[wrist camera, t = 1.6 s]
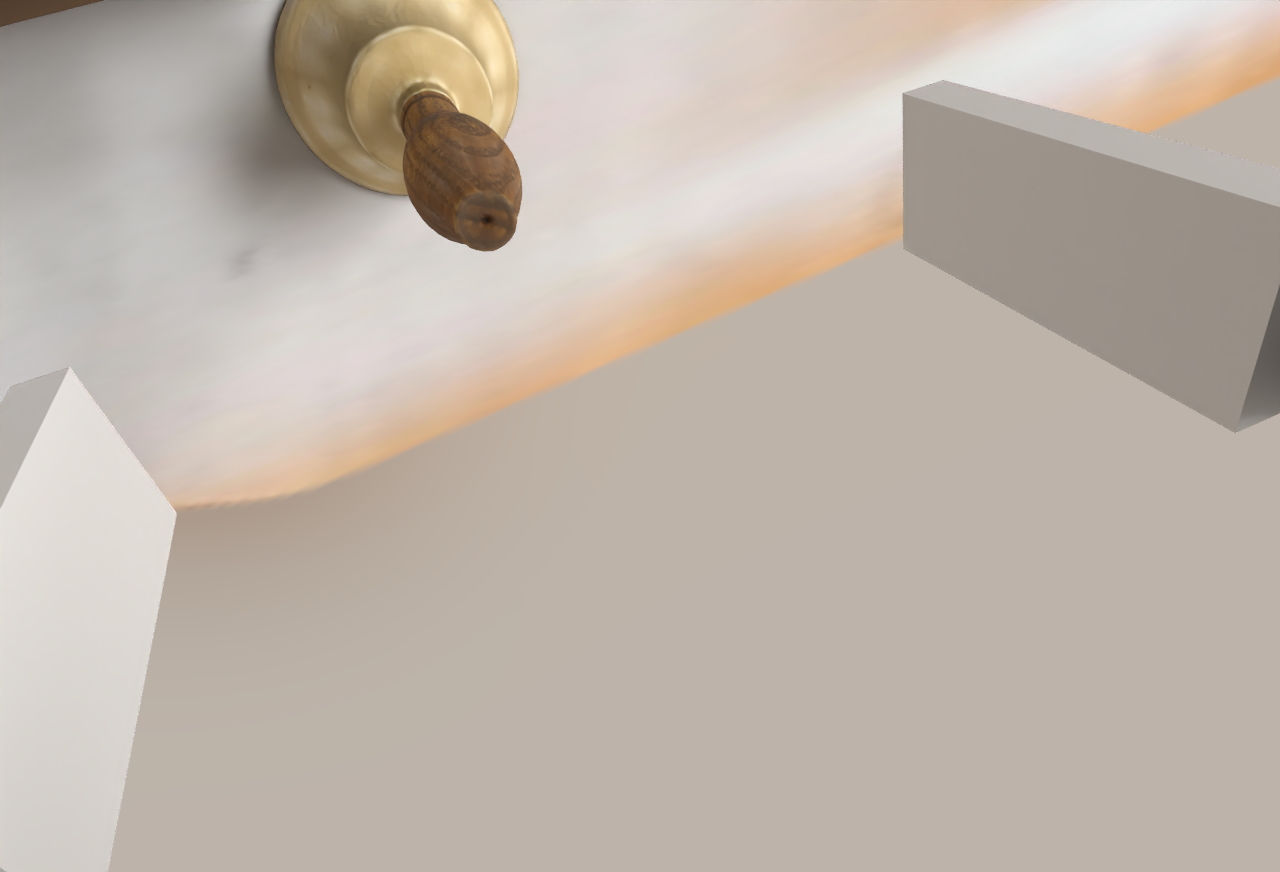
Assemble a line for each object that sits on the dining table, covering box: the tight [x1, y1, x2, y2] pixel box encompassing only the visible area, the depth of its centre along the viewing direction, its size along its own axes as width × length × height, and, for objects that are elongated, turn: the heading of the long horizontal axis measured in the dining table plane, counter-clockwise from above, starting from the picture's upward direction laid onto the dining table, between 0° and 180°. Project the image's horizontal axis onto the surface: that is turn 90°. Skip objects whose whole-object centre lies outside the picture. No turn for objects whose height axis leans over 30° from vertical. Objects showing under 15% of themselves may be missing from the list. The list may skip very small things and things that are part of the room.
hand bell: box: [274, 0, 522, 251], centre depth 23 cm, size 8×8×16 cm
